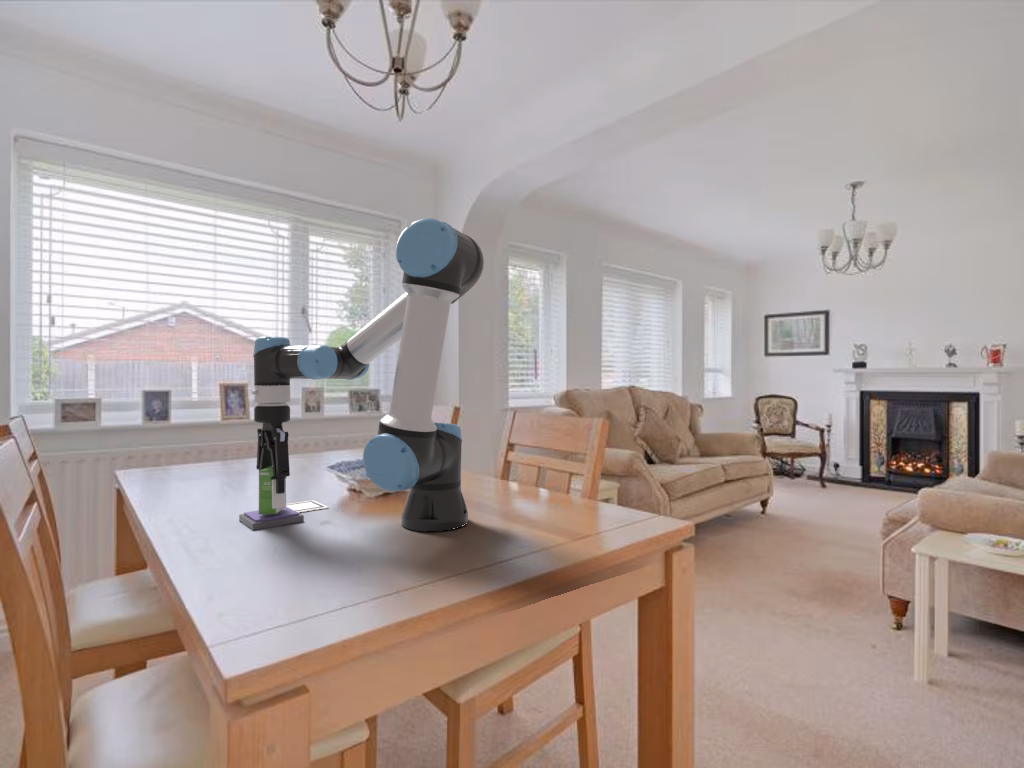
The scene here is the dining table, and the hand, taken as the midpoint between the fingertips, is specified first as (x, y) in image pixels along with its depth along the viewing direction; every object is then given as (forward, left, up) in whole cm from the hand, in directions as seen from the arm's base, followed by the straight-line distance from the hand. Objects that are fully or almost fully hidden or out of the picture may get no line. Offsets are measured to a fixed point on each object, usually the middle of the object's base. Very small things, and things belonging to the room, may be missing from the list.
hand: (272, 504), depth 124 cm
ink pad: (0, 0, -4) cm, 4 cm away
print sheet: (+9, -9, -4) cm, 13 cm away
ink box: (0, 0, -2) cm, 2 cm away
